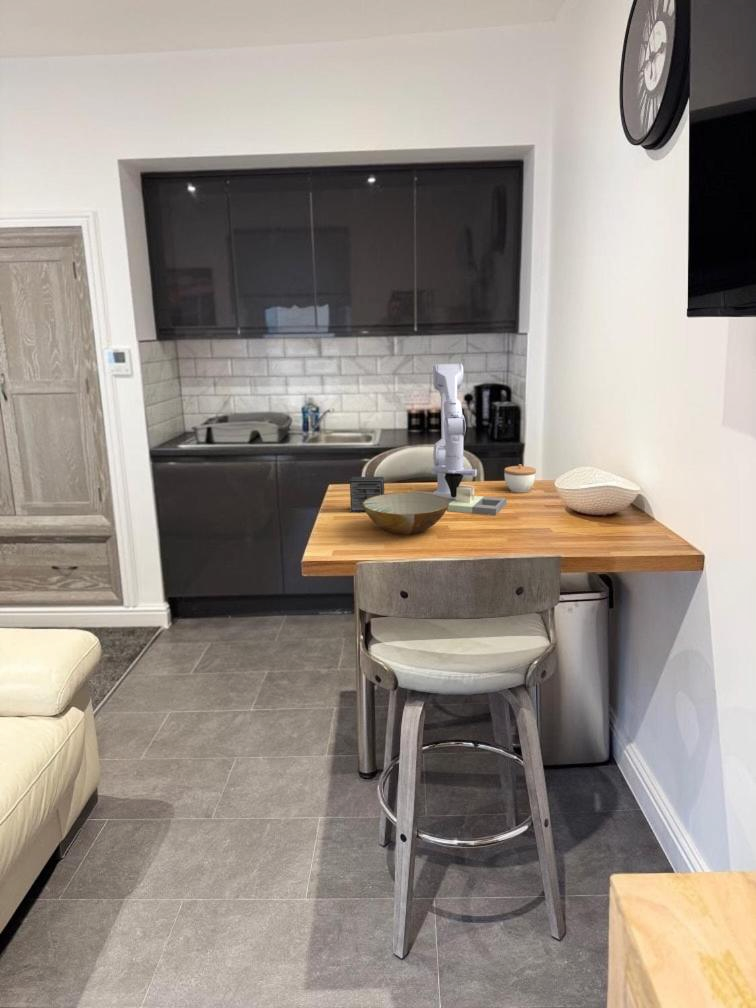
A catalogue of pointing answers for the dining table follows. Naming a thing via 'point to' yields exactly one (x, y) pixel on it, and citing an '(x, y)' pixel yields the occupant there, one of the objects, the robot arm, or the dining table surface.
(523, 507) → the dining table surface
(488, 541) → the dining table surface
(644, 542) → the dining table surface
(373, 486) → the small box
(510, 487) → the lidded jar
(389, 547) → the dining table surface
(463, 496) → the block
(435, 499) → the bowl
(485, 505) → the plate
